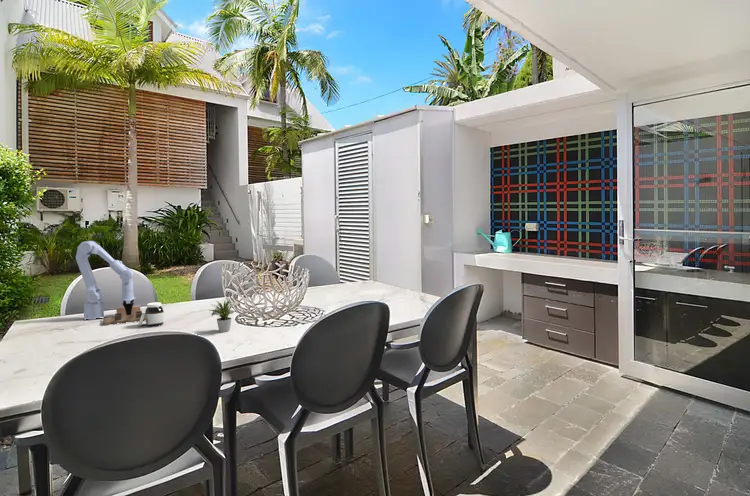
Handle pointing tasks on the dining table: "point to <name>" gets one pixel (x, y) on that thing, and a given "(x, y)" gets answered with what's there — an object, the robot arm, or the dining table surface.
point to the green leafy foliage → (225, 304)
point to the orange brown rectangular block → (123, 312)
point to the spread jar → (153, 315)
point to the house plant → (223, 316)
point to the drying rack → (123, 318)
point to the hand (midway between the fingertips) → (128, 313)
